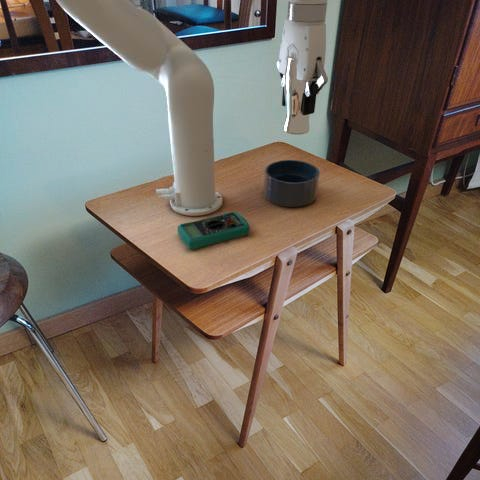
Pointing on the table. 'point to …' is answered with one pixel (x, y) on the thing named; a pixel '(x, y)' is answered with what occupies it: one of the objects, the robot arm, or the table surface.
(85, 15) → the robot arm
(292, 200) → the dark blue bowl
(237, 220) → the digital multimeter
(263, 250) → the table surface
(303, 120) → the silver metal tumbler
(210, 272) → the table surface
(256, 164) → the table surface
